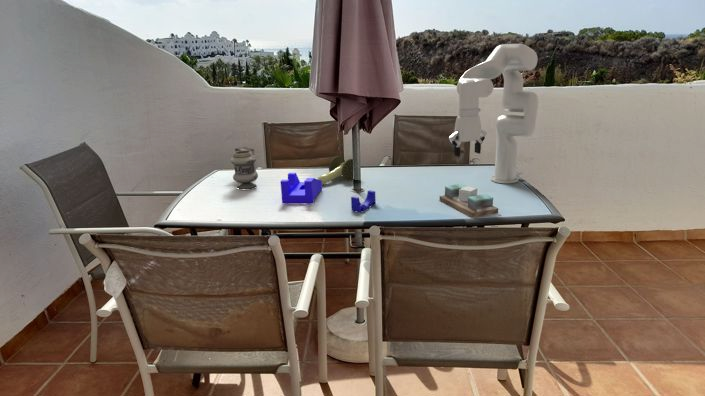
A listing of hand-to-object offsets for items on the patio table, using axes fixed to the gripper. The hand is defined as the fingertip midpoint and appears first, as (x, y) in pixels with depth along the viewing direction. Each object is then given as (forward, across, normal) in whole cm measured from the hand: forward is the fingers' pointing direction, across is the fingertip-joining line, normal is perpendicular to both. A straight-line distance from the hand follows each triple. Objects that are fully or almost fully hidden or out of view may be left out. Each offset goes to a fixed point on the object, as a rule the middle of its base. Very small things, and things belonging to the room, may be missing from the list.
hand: (467, 154), depth 190 cm
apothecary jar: (+20, +82, -68) cm, 108 cm away
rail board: (+20, +3, +5) cm, 21 cm away
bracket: (+20, +60, -40) cm, 75 cm away
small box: (+18, +3, +5) cm, 19 cm away
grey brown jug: (+20, +78, -85) cm, 117 cm away
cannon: (+21, +38, -58) cm, 72 cm away
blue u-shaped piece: (+20, +41, -13) cm, 47 cm away
